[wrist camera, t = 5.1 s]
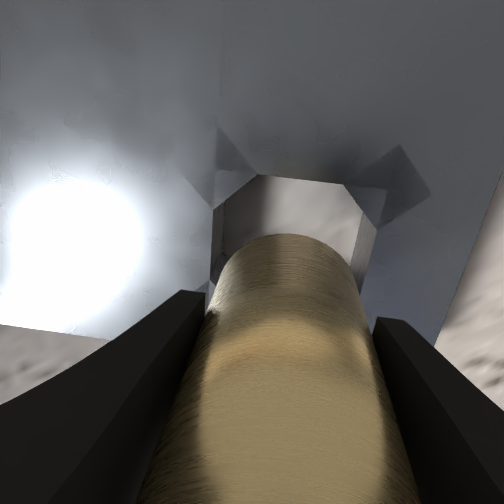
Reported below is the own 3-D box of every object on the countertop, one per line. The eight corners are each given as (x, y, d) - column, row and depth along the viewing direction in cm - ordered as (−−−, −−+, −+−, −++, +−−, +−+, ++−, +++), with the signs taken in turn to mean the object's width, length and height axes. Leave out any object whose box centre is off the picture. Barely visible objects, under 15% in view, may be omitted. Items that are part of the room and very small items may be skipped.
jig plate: (526, -19, 11) (586, -45, 9) (402, 345, 17) (418, 385, 15) (-35, -66, 12) (-111, -101, 10) (35, 293, 18) (-3, 323, 16)
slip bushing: (373, 245, 10) (534, 587, 3) (339, 361, 11) (398, 731, 5) (224, 223, 10) (86, 502, 3) (213, 340, 11) (110, 671, 5)
